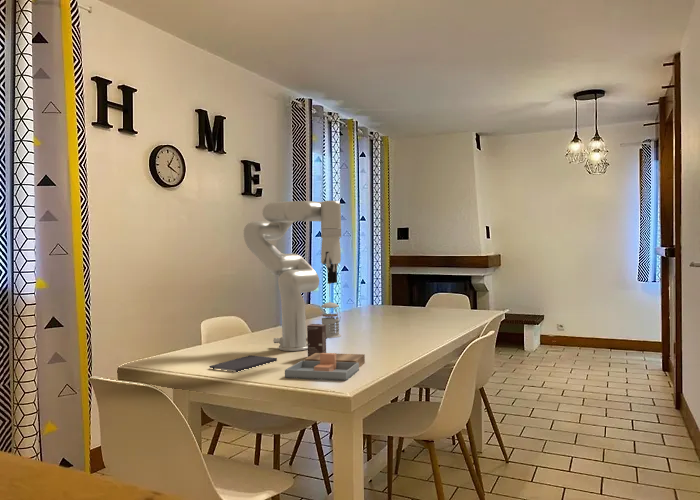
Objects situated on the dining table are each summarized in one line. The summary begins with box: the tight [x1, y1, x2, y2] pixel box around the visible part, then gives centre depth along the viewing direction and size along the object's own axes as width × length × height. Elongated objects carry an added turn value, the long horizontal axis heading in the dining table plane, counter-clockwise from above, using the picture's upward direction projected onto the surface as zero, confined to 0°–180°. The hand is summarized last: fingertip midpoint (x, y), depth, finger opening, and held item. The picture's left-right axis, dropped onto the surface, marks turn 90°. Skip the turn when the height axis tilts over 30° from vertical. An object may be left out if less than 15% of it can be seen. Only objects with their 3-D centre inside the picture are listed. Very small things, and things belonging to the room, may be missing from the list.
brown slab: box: [304, 353, 366, 368], centre depth 193 cm, size 18×11×3 cm, turn 74°
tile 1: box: [314, 364, 334, 371], centre depth 182 cm, size 5×5×2 cm
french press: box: [320, 282, 342, 339], centre depth 257 cm, size 10×12×25 cm
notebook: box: [208, 354, 278, 373], centre depth 198 cm, size 13×2×21 cm
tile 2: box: [320, 352, 337, 370], centre depth 186 cm, size 5×5×2 cm
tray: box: [284, 360, 360, 382], centre depth 181 cm, size 20×14×2 cm
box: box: [306, 323, 327, 357], centre depth 208 cm, size 6×4×12 cm
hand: (332, 282), depth 212 cm, fingers closed
